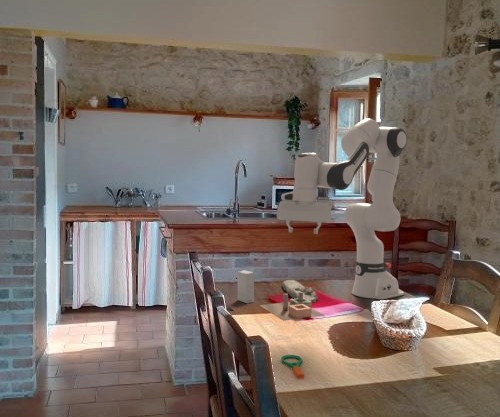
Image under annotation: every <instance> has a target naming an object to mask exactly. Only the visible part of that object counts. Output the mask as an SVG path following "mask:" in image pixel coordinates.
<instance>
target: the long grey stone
mask: <svg viewBox="0 0 500 417" xmlns="http://www.w3.org/2000/svg"><path fill="white" fill-rule="evenodd" d="M281 286H282V288H283V290H284V291H285V292H286V294H289V295H288V296H290V297H291V299H293V298H294V299H296V298H298V292H303V298H305V299H307V300H309V301H311V302H312V304H313V303H316V302H317V301H318V299H319V297H318V296H319V295H318V294H317V293H316V289H315V287H307V286H304V285H302V284H301V283H300V282H298V281H297V280H294V279H287V280H284V281H282V284H281Z"/></svg>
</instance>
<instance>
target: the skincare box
mask: <svg viewBox="0 0 500 417" xmlns="http://www.w3.org/2000/svg"><path fill="white" fill-rule="evenodd" d="M236 273H237V274H236V277H237V278H236V279H237V280H236V281H237V301H239V302H242V303H244V304H245V303H246V304H251V303H254V302H255V272H253V271H250V270H249V271H248V270H245V269H244V270H240V271H237V272H236Z"/></svg>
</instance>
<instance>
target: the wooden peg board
mask: <svg viewBox="0 0 500 417" xmlns="http://www.w3.org/2000/svg"><path fill="white" fill-rule="evenodd" d="M282 295H283V296H282V302H279V303H278V302H277V303H268V304H260V305H259V307H261V308H263V309H265V310H266V311H267V312H270V313H271V314H273V315H274V316H275V317H276V318H278V319H280V320H282V322H283V321H292V320H297V319H301V318H295V317H294V316H292V315H290V314H289V306H290V305H298V304H304V305H306V306H308V307H310V308H312V304H313V303H312V302H311V301H309V300H307V299H305V298H303V292H298V298H296V299H293V298H289V295H288V293H283V294H282ZM321 316H325V314H324V313H322V312H320V311H318V310H316V309H314V308H312V310H311V317H310V318H316V317H321ZM307 318H309V317H303V318H302V319H307Z"/></svg>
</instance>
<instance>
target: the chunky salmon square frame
mask: <svg viewBox="0 0 500 417" xmlns="http://www.w3.org/2000/svg"><path fill="white" fill-rule="evenodd" d="M312 309H313V307H311V308H310V307H308V306H306V305H304V304H298V305H290V306H289V314H290V315H292V316H294V317H295V318H300V319H304V318H303V317H308V318H312V317H311V310H312Z"/></svg>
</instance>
